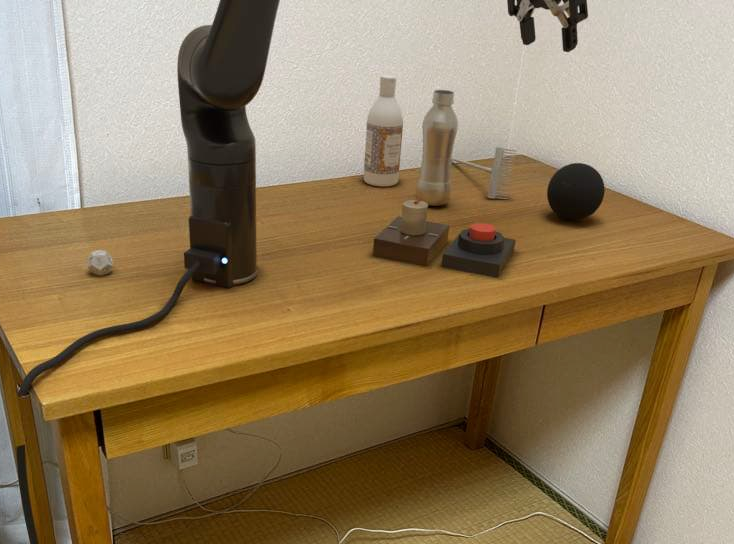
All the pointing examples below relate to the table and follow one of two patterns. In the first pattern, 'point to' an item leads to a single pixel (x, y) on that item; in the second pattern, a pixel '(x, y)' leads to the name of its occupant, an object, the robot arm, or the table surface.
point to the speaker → (575, 191)
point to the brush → (495, 172)
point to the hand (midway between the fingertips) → (549, 46)
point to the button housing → (478, 254)
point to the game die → (100, 262)
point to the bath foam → (383, 137)
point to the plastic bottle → (437, 150)
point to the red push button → (482, 232)
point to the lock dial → (414, 217)
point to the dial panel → (410, 243)
